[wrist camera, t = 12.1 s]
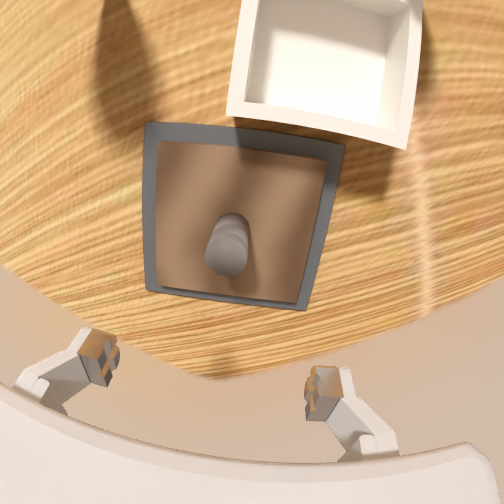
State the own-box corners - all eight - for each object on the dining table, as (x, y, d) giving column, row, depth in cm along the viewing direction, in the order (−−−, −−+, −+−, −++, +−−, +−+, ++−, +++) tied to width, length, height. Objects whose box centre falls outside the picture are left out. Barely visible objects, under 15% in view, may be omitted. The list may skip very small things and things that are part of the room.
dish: (395, 15, 16) (422, -1, 12) (379, 141, 22) (405, 150, 17) (252, -18, 16) (250, -45, 12) (232, 114, 21) (225, 115, 17)
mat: (343, 144, 22) (345, 145, 22) (305, 308, 29) (305, 310, 29) (146, 121, 22) (145, 122, 21) (146, 287, 29) (145, 289, 28)
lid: (324, 159, 22) (344, 176, 17) (295, 296, 28) (301, 339, 23) (161, 140, 22) (132, 151, 17) (159, 279, 28) (139, 318, 22)
